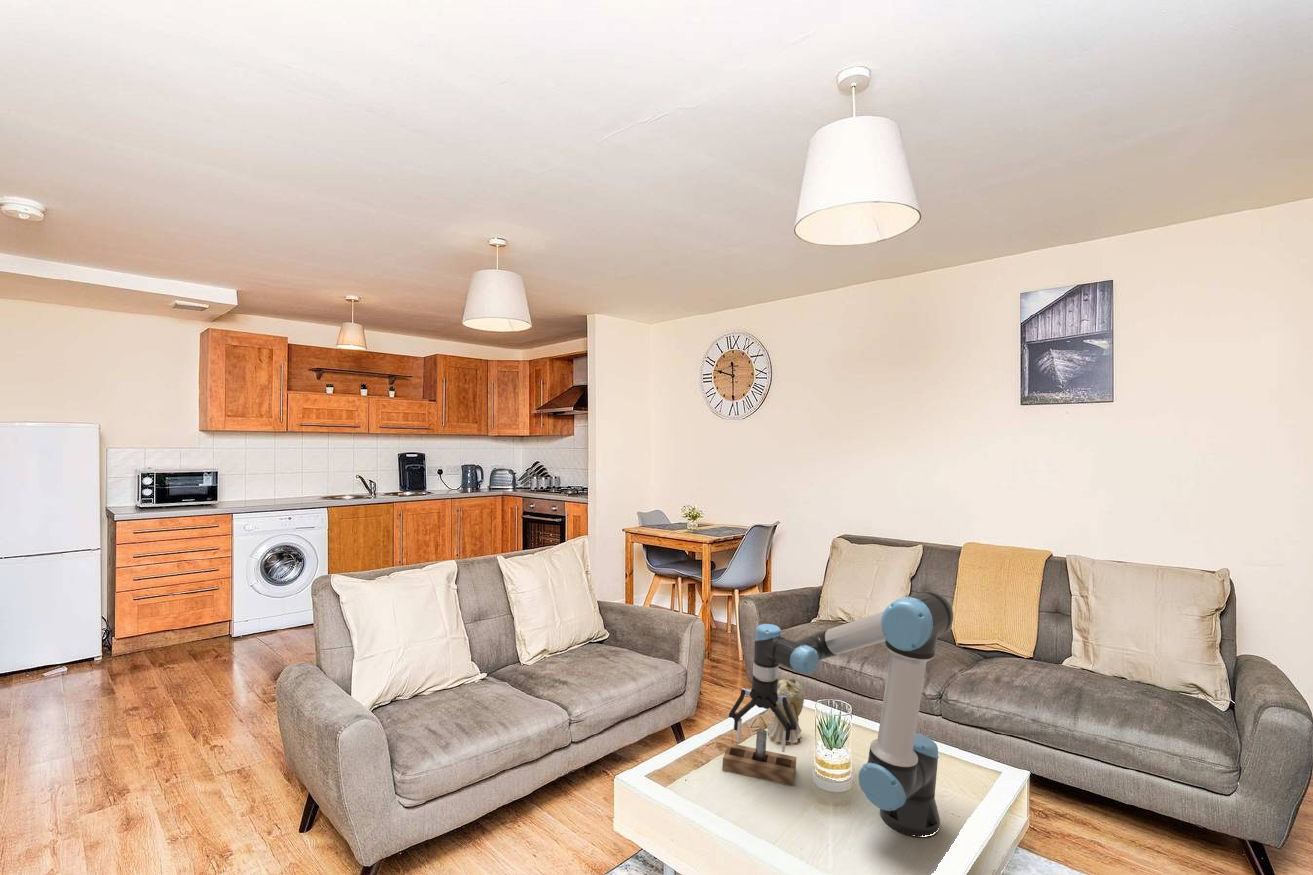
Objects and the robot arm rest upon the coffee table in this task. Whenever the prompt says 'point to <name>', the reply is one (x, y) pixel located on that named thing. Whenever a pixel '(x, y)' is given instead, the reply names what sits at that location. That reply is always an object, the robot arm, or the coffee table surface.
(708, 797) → the coffee table surface
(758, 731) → the peg
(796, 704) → the figurine
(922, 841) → the coffee table surface
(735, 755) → the hole block
